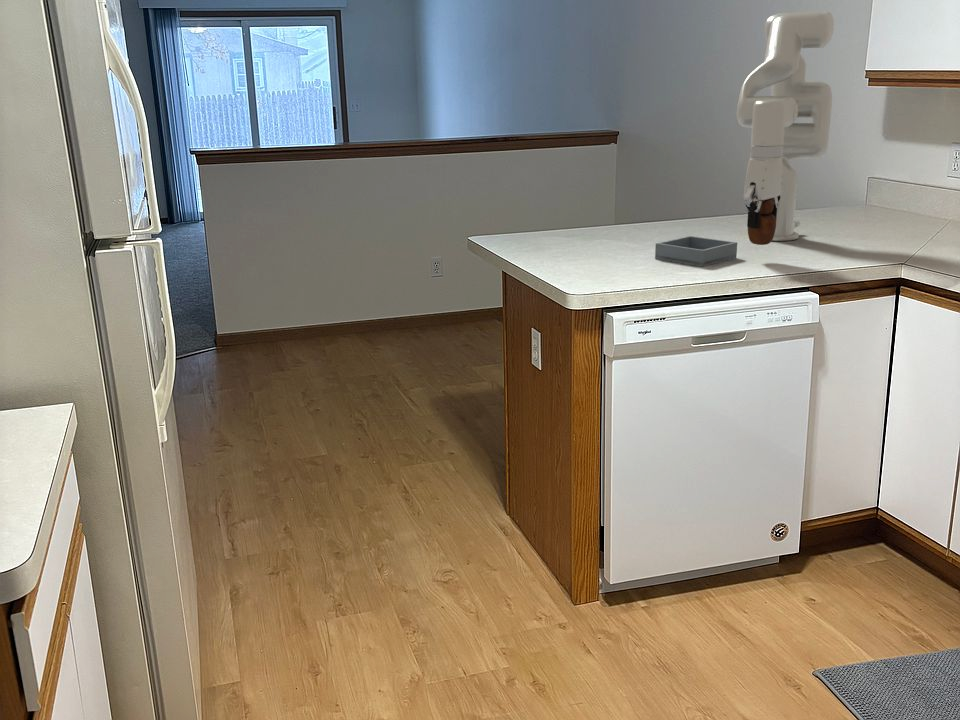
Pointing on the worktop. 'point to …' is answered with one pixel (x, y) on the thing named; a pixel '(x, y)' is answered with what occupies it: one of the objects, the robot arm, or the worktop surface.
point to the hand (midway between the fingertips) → (761, 224)
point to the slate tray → (696, 250)
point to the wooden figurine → (764, 225)
